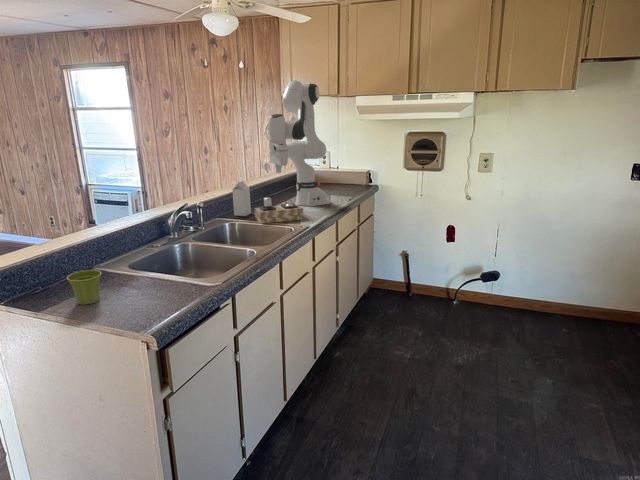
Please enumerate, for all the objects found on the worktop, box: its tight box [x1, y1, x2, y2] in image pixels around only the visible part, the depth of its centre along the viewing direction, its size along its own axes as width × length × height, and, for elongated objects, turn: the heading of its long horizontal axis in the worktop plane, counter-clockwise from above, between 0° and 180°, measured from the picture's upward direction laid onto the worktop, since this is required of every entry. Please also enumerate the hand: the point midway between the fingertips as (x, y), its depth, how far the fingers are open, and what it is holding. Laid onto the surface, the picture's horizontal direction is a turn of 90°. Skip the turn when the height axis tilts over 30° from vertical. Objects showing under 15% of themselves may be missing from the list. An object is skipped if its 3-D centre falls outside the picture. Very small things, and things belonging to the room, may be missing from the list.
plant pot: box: [66, 269, 102, 306], centre depth 135 cm, size 9×9×9 cm
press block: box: [253, 203, 305, 224], centre depth 238 cm, size 24×12×7 cm, turn 112°
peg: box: [263, 196, 273, 209], centre depth 234 cm, size 4×4×7 cm
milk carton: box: [231, 180, 252, 217], centre depth 248 cm, size 7×7×19 cm
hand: (278, 173), depth 232 cm, fingers closed
